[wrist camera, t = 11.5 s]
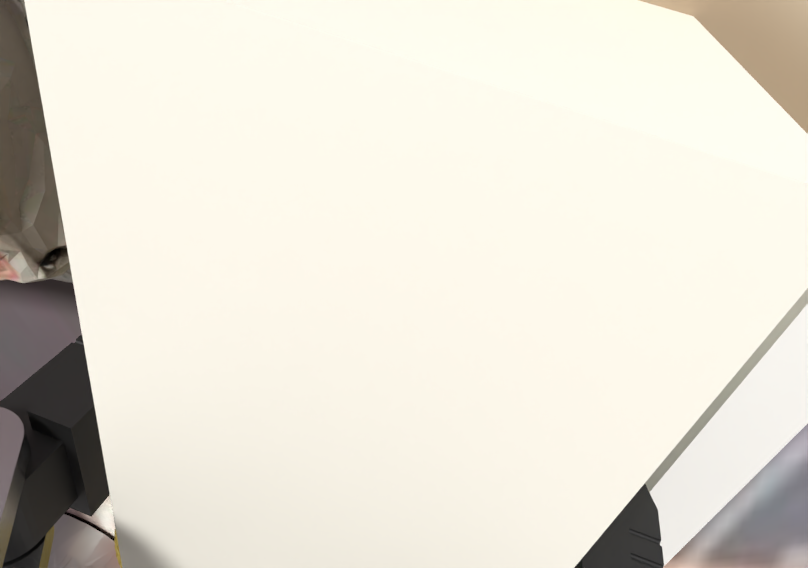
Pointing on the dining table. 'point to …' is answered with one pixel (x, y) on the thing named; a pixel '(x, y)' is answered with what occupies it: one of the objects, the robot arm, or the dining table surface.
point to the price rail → (735, 433)
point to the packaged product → (26, 164)
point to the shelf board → (761, 43)
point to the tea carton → (406, 266)
